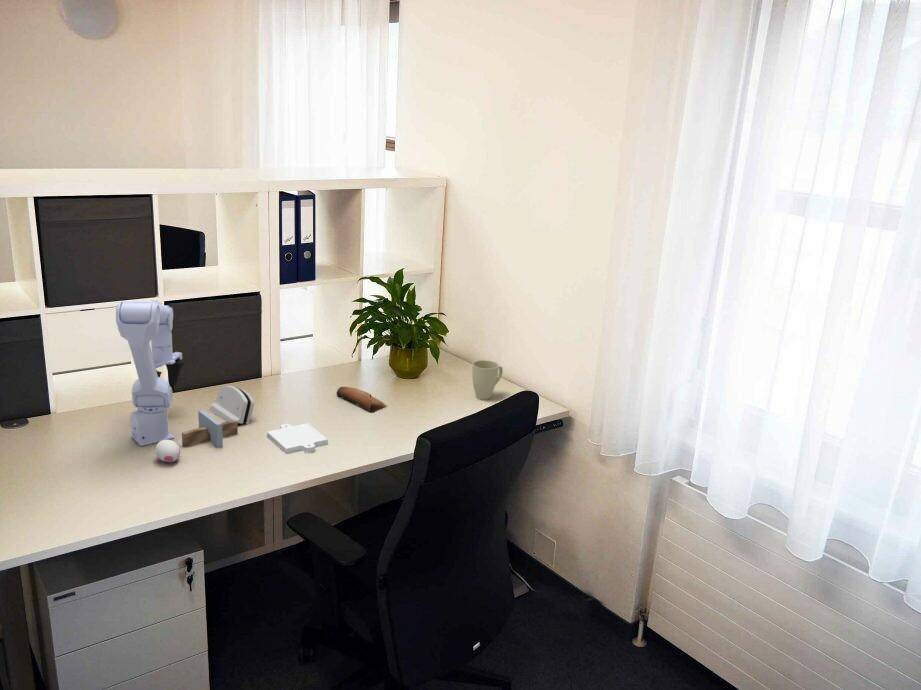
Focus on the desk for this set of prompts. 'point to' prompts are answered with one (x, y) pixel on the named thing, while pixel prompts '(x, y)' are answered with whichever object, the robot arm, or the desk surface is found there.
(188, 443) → the walnut plate
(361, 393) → the sunglasses case
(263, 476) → the desk surface
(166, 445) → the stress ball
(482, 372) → the mug
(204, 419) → the upright grey panel
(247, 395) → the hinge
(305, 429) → the mounting plate
